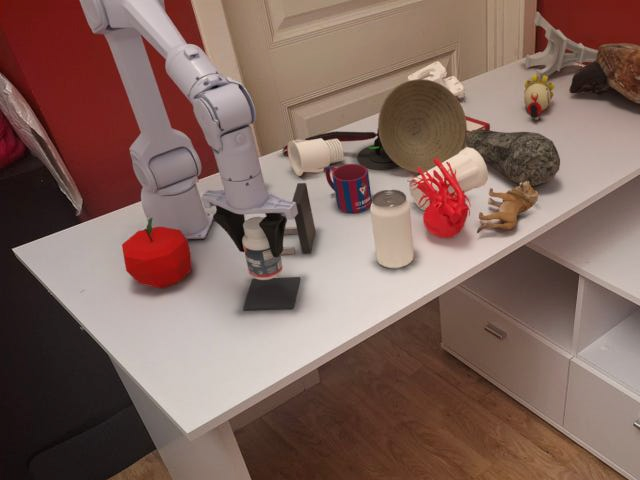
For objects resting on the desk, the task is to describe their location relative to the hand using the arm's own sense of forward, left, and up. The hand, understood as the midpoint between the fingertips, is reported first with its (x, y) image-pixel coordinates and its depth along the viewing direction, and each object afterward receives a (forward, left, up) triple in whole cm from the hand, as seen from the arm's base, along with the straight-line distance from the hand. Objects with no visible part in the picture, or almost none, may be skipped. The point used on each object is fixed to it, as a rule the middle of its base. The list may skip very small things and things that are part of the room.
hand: (261, 251), depth 109 cm
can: (+20, +9, -9) cm, 23 cm away
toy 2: (+49, +60, -5) cm, 78 cm away
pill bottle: (0, 0, -4) cm, 4 cm away
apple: (-19, +6, -9) cm, 22 cm away
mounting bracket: (+32, +80, -4) cm, 86 cm away
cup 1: (+10, +29, -9) cm, 32 cm away
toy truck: (+33, +54, -6) cm, 64 cm away
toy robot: (+16, +47, -8) cm, 50 cm away
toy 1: (+5, +46, -7) cm, 47 cm away
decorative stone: (+45, +41, -3) cm, 61 cm away
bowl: (+22, +49, -4) cm, 54 cm away
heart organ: (+27, +16, -8) cm, 33 cm away
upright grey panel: (0, +15, -8) cm, 17 cm away
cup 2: (+23, +25, -5) cm, 34 cm away
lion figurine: (+36, +22, -5) cm, 42 cm away
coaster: (0, 0, -8) cm, 8 cm away
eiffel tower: (+53, +90, -2) cm, 105 cm away
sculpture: (+66, +80, -8) cm, 104 cm away
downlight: (-2, +40, -5) cm, 40 cm away
